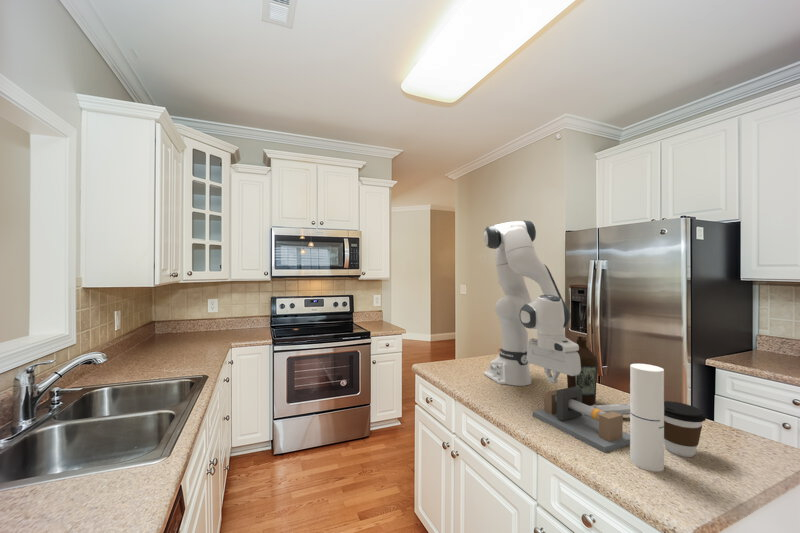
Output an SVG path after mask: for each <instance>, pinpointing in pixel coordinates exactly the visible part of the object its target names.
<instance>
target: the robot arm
mask: <svg viewBox="0 0 800 533" xmlns="http://www.w3.org/2000/svg"><path fill="white" fill-rule="evenodd" d="M483 232H484V233H483V241H484V243H485V246H486V247H487V248H489V249H493V250H495V265H496V272H497V274H496V275H497V279H498V283H499V285H500V287H501V288H502V291H503V294H504V296H502V297H500V298H499V299H498V300H497V301H496V303H495V308H494V309H495V310H494V311H495V313H496V315H497V316H498V318H499V323H500V327H501V341H502V342H501V343H502V344H501V347H502V348H498V349H497V351H498V352H499V355H498V356H497V357H495V358H494V359H493V360H491V361H490V362H489V366H488V370H485V371H484V372H483V375H484V376H486V377H488V378H489V379H491V380H492V381H494V382H495V383H497V384H498V385H508V386H517V387H519V386H520V387H522V386H529V385H531V384H532V375H531V370H530V369H531V368H530V365H533V366H537V367H541V368H543V372H544V374H545V376H546V381H547V382H549V383H552V384H557V383H558V381H559V380H558V378H559V376H560V375H561V374H563V375H566V376H567V375H570V376H576V375H579V374H580V372H581V363H580V356H579V354H578V353H577V352H576V351H578V350H579V346H578V344H577V342H574V341H572V340H571V339H569V338H567V337H566V332H565V328H566V327H567V325H569V323H570V321H571V317H572V316H571V311H570V308H569V307H568V305H567V304H566V302H565V300H564V299H563V297H562V295H561V293H560V290H559V289H558V287H557V286H558V285H557V283H556V282H555V280H554V277H553V275H552V273H551V271H550V269H549V268H548V266H547V265H546V264H545V263H544V262H542V261H541V259H540V258H539V256H538V254H537V253H536V250H535V246H534V243H533V242H534V241H535V240H536V236H537V231H536V227H535V225H534V223H533V222H532V221H530V220H521V221H519V220H516V221H508V222H502V223H498V224H490V225H489V226H486V228H485V229H484V231H483ZM525 278H528V279H531V280H532V281H534V282H535V283H537V284H538V285H539V287H540V288H541V291H542V294H541V295H539V296H538V297H537V299H535V300H533V299H532V298H531V297H530V293H529V290H528V288H527V284H526V282H525ZM527 329H530V330H537V334H536V335H537V336H536V337H537V338H533V337H532V338H530V339H529V333H528V331H527Z"/></svg>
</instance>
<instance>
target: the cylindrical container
mask: <svg viewBox="0 0 800 533" xmlns="http://www.w3.org/2000/svg"><path fill="white" fill-rule="evenodd" d="M629 367H630V368H629V369H630V371H629V373H630V374H629V376H630V377H629V378H630V379H629V380H630V381H629V383H630V384H629V388H630V389H629V392H630V393H629V395H630V396H629V397H630V400H629V401H630V402H629V404H630V414H629V416H630V417H629V420H630V422H629V423H630V424H629V427H630V428H629V429H630V430H629V432H630V433H629V434H630V445H629V447H630V448H629V449H630V450H629V452H630V454H629V455H630V458H629V459H630V460H629V461H631V463H632V464H634V465H635V466H636V467H638V468H641V469H643V470H646V471H648V472H649V471H650V472H655V473H656V472H657V473H658V472H662V471H664V470H665V445H664V401H665V369H664V368H663V367H660V366H657V365H652V364H648V363H647V364H646V363H631V364H630V366H629Z"/></svg>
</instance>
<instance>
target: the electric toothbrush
mask: <svg viewBox="0 0 800 533" xmlns="http://www.w3.org/2000/svg"><path fill="white" fill-rule="evenodd" d="M591 407H593V408H597V409H600V410H602V411H604V412H606V413H608V412H612V411H613V412H616V413H618V414H621V415H623V416H627V415H630V403H615V404H599V405H598V404H597V405H596V404H594V405H593V406H591ZM586 416H587V415H586ZM588 417H589V416H588Z"/></svg>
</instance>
